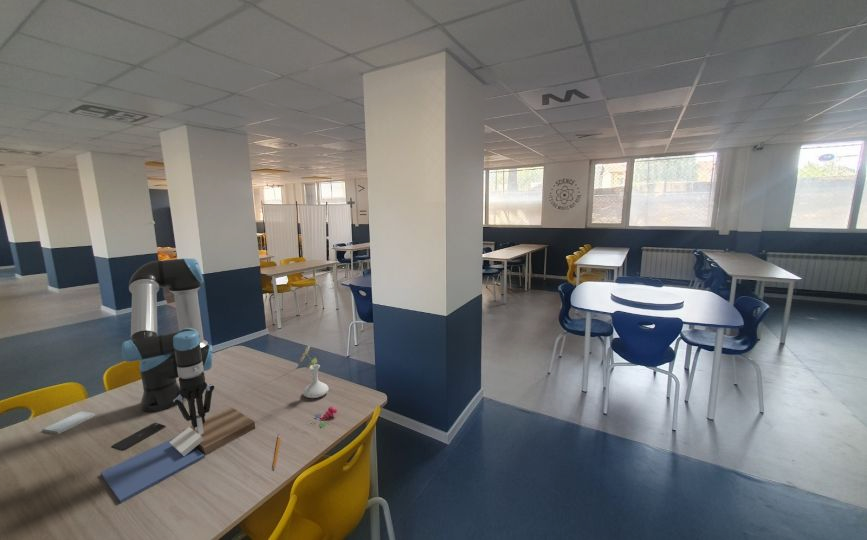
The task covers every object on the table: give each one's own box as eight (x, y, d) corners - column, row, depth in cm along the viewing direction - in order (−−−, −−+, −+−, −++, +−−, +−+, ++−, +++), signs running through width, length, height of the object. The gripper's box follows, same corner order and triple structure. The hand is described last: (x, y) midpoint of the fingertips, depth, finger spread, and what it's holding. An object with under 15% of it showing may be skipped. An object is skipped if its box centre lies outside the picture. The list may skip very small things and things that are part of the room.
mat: (101, 474, 111) (100, 472, 111) (181, 436, 129) (180, 434, 129) (120, 503, 100) (120, 500, 100) (204, 457, 118) (204, 454, 118)
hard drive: (57, 431, 131) (94, 413, 143) (41, 429, 133) (80, 410, 145) (58, 435, 132) (95, 416, 144) (42, 432, 133) (80, 414, 145)
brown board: (183, 437, 129) (182, 430, 128) (232, 413, 144) (231, 407, 143) (205, 455, 119) (204, 447, 119) (255, 428, 134) (254, 421, 133)
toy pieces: (322, 409, 147) (322, 400, 146) (341, 417, 141) (341, 407, 141) (299, 424, 137) (299, 414, 136) (319, 433, 131) (318, 423, 130)
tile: (172, 445, 122) (169, 442, 122) (192, 430, 127) (189, 426, 127) (184, 456, 117) (181, 452, 116) (204, 439, 122) (201, 436, 121)
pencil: (277, 435, 129) (271, 471, 112) (278, 433, 129) (272, 468, 112) (280, 436, 130) (274, 472, 112) (281, 434, 130) (275, 469, 112)
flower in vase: (314, 385, 166) (311, 338, 162) (333, 390, 162) (330, 341, 158) (295, 399, 154) (290, 348, 150) (315, 404, 150) (311, 351, 146)
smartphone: (109, 445, 124) (154, 421, 138) (110, 447, 124) (154, 423, 138) (122, 450, 122) (167, 425, 136) (123, 452, 122) (167, 427, 136)
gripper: (174, 384, 114) (183, 446, 118) (215, 369, 125) (223, 427, 129) (165, 379, 118) (175, 439, 122) (206, 364, 129) (214, 420, 133)
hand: (199, 432), depth 125 cm, fingers closed
